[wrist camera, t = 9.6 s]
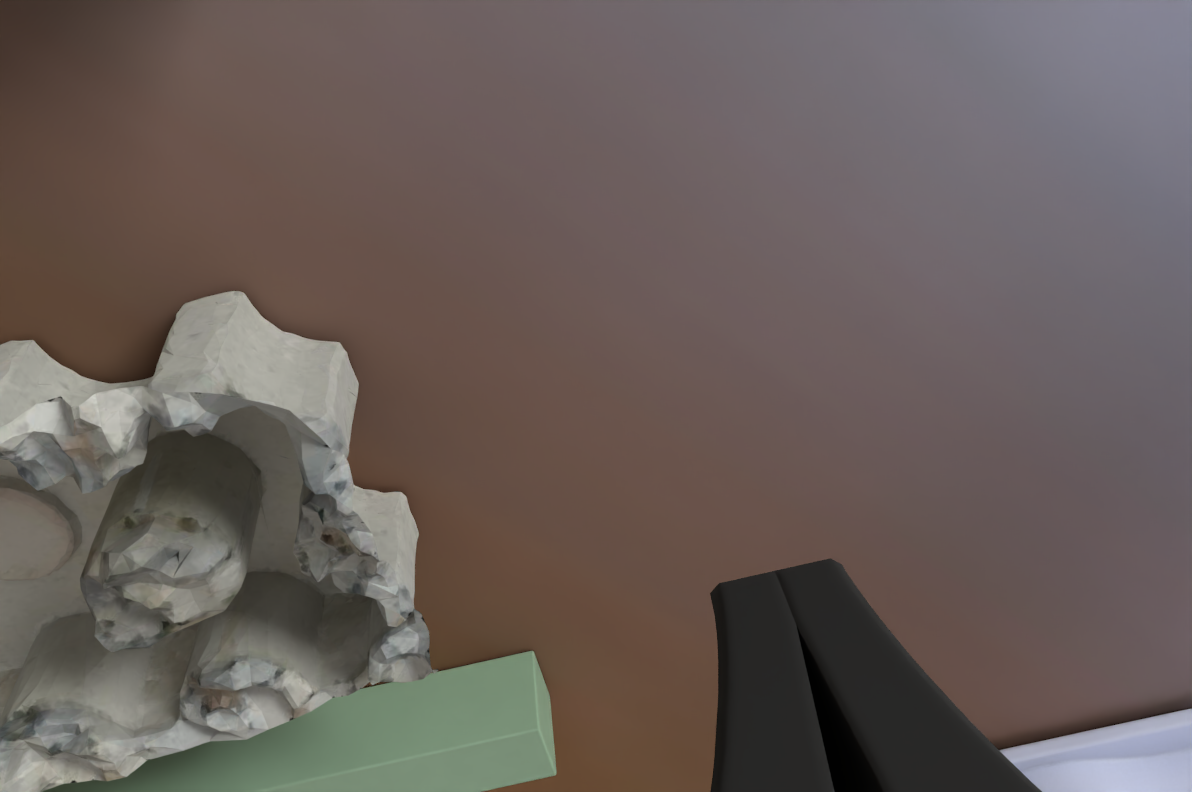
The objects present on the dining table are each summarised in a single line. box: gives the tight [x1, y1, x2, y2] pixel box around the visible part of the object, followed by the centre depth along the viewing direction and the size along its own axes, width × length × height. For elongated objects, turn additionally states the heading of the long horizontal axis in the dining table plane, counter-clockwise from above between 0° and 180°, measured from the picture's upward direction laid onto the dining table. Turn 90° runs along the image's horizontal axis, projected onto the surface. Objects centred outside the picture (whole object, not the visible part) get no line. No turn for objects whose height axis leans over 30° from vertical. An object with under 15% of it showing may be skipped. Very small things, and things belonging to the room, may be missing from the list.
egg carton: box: [0, 291, 438, 792], centre depth 17 cm, size 11×8×4 cm
